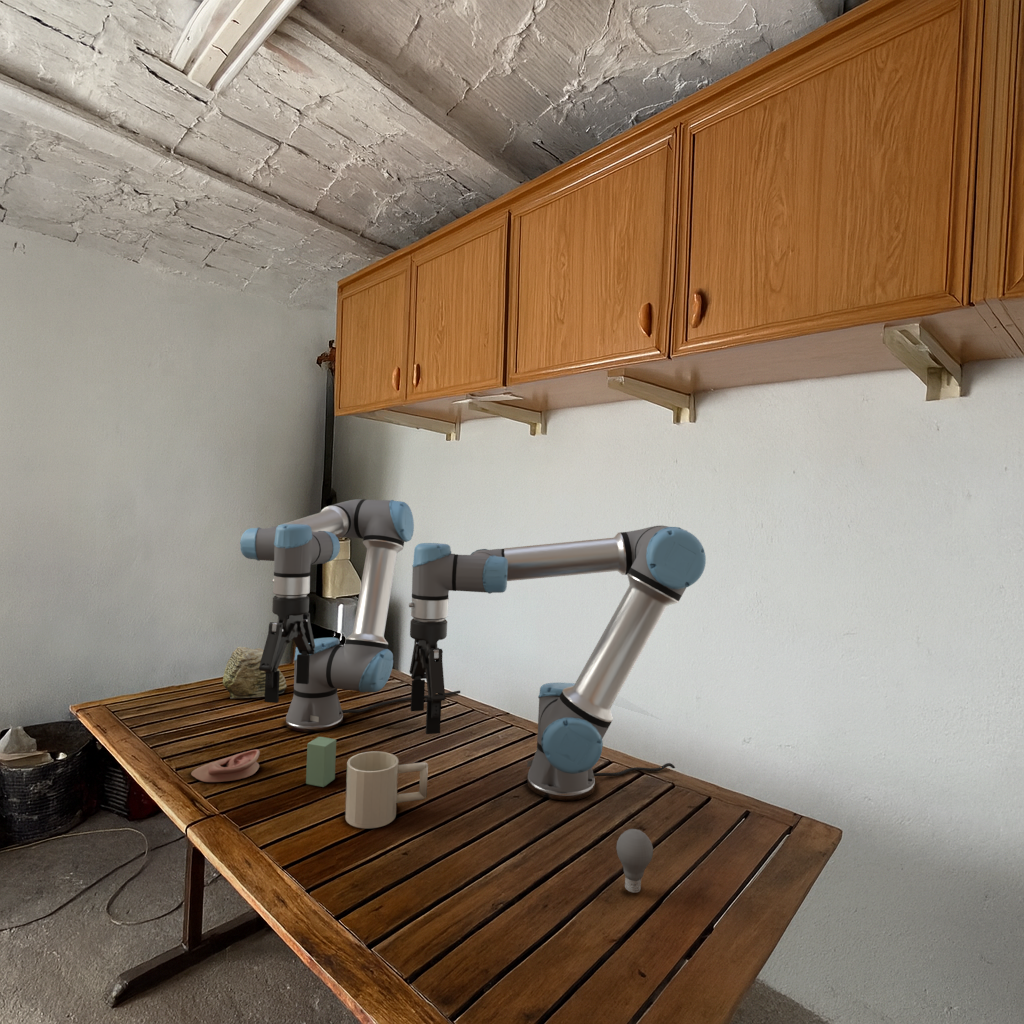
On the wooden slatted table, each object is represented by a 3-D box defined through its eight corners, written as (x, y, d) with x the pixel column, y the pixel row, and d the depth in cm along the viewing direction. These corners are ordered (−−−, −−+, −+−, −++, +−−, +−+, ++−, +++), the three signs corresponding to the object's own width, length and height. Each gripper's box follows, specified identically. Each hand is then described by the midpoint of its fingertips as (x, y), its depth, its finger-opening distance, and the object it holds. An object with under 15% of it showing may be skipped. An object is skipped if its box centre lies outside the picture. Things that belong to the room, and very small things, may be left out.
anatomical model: (182, 760, 139) (216, 741, 150) (181, 778, 139) (216, 758, 150) (236, 768, 136) (267, 748, 147) (235, 786, 136) (266, 765, 147)
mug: (348, 831, 120) (350, 774, 120) (342, 807, 130) (344, 754, 129) (432, 819, 126) (434, 765, 126) (420, 797, 136) (422, 746, 135)
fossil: (218, 695, 195) (220, 647, 195) (278, 685, 208) (279, 640, 207) (228, 703, 189) (230, 653, 188) (289, 692, 201) (290, 645, 201)
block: (317, 775, 144) (319, 736, 144) (335, 778, 142) (336, 739, 142) (305, 783, 139) (307, 743, 139) (323, 787, 138) (325, 746, 138)
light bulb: (610, 879, 108) (613, 822, 108) (644, 879, 109) (647, 822, 109) (619, 902, 102) (622, 840, 102) (655, 901, 103) (658, 840, 103)
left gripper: (302, 586, 151) (298, 675, 151) (242, 603, 126) (239, 708, 126) (331, 588, 149) (328, 677, 150) (278, 605, 125) (274, 712, 125)
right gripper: (398, 608, 140) (394, 703, 140) (425, 632, 117) (420, 746, 117) (431, 607, 143) (427, 701, 143) (464, 630, 120) (459, 742, 120)
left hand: (287, 692), depth 138 cm, fingers open, 13 cm apart
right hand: (424, 721), depth 130 cm, fingers open, 13 cm apart
